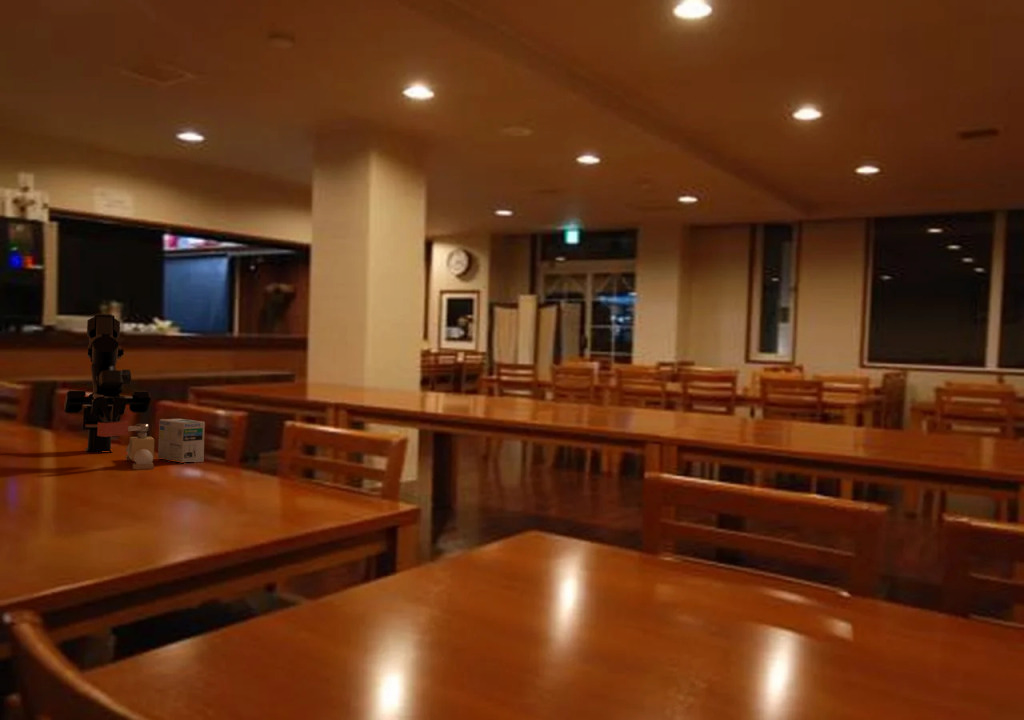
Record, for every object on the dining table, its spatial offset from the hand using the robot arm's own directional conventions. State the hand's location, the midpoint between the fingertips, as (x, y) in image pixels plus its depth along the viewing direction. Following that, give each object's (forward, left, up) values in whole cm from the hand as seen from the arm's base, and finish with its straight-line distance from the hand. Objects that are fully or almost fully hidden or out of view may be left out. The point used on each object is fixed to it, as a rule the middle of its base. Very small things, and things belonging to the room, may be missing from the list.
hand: (112, 428), depth 197 cm
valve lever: (0, +3, -1) cm, 3 cm away
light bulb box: (-10, +18, -10) cm, 23 cm away
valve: (-6, +7, -10) cm, 14 cm away
